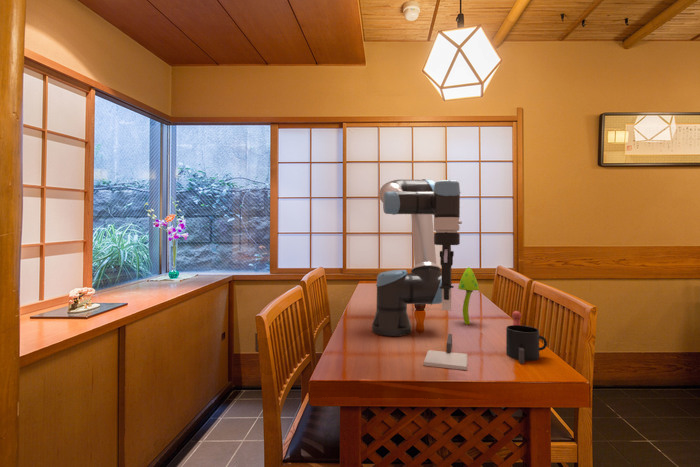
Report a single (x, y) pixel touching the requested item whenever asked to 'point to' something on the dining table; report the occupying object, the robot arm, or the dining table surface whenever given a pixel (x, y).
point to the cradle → (516, 321)
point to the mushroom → (467, 290)
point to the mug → (523, 342)
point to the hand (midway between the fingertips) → (446, 310)
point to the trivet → (446, 360)
